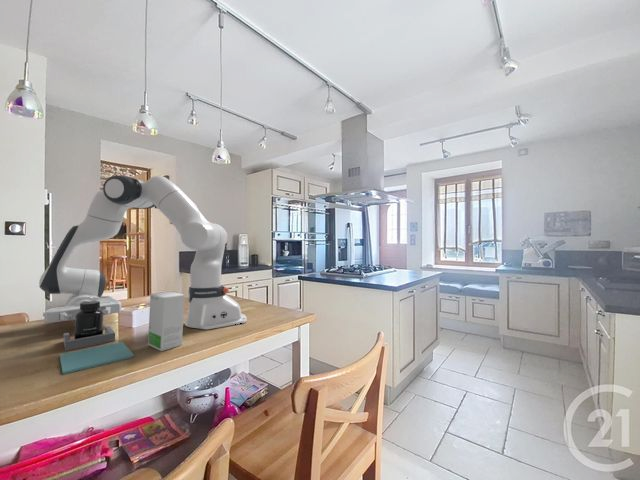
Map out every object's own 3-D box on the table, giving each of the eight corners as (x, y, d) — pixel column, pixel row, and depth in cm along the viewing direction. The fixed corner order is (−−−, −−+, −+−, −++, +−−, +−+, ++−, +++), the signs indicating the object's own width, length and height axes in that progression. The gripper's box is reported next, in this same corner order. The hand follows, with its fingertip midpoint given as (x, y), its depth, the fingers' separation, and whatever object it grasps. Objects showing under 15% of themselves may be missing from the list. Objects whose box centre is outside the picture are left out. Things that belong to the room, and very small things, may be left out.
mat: (59, 356, 74) (59, 354, 74) (122, 343, 84) (122, 341, 84) (62, 374, 64) (62, 371, 64) (133, 357, 74) (133, 354, 74)
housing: (63, 341, 85) (63, 333, 85) (109, 333, 93) (109, 325, 93) (65, 350, 78) (65, 342, 78) (114, 340, 86) (115, 332, 86)
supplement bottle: (86, 345, 82) (87, 305, 82) (68, 344, 83) (69, 304, 83) (108, 338, 88) (109, 300, 89) (91, 336, 90) (92, 299, 90)
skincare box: (147, 345, 82) (148, 293, 82) (169, 339, 88) (170, 290, 88) (161, 352, 78) (162, 296, 78) (184, 345, 83) (185, 293, 83)
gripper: (42, 303, 93) (42, 310, 83) (117, 295, 107) (124, 300, 98) (42, 322, 93) (42, 331, 83) (116, 311, 107) (124, 318, 97)
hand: (87, 315), depth 90 cm, fingers open, 8 cm apart
